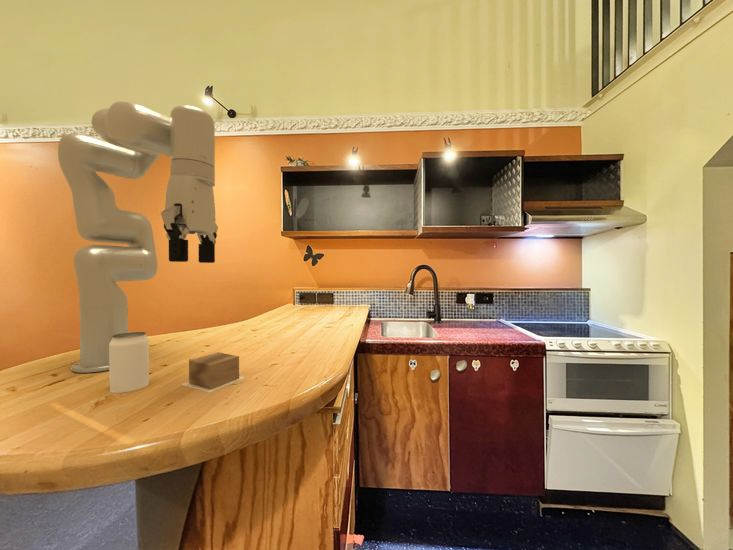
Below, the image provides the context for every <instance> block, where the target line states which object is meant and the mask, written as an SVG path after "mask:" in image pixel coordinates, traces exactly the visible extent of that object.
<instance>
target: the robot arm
mask: <svg viewBox="0 0 733 550" xmlns="http://www.w3.org/2000/svg"><path fill="white" fill-rule="evenodd" d="M91 125H92V126H91V127H92V128H93V130H94V132H95V133H96V134H97V136H99V138H98V137H95V136H91V135H87V134H81V133H74V132H73V133H66V134H63V135H62V136H61V138H60V139H59V141H58V146H57V158H58V163H59V166H60V169H61V172H62V174H63V176H64V178H65V179H66V181H67V184H68V186H69V188H70V190H71V191H70V192H71V195H72V201H73V202H72V203H73V208H74V209H73V210H74V217H75V223H76V228H77V232H78V234H79V235H80V237H81V238H82V239H83V240H86V241H89V242H93V243H94V242H95V243H103V244H104V243H105V244H106V245H105V244H104V245H101V244H93V245H86V246H83V247H80V248H79V249H78V250H76V251H75V252H74V255H73V261H72V262H73V268H74V272H75V277H76V281H77V286H78V287H77V288H78V301H79V302H78V307H79V346H80V347H79V361H78V362H74V363H73V364H72V365H71V371H72V372H74V373H79V374H80V373H81V374H83V373H85V374H87V373H98V372H105V371H109V344H110V342H111V340H112V336H113V335H116V334H120V333H127V332H129V331H128V330H129V322H128V321H129V316H128V315H129V314H128V312H129V311H128V308H129V307H128V306H129V305H128V296H127V294H126V293H125V292H124V290H123V289H122V288H121V287H120V286H119V285H118V284H117V283H118V282H137V281H138V282H139V281H140V282H141V281H142V282H143V281H149V280H152V279H153V278H154V277H155V276H156V275H157V272H158V257H157V250H156V246H155V244H156V243H155V240H154V233H153V227H152V224H151V222H150V220H149V219H148V217H147V216H145V215H144V214H143V213H140V212H137V211H130V210H126V209H124V210H123V209H119V207H117V204H116V197H115V196H116V195H115V193H114V191H113V189H112V188H111V187H110V185H109V184H108V183H107V181H105V180H104V178H102V177H101V176H100V175H99V174H98V173H97V172H99V173H103V174H107V175H111V176H115V177H120V178H124V179H129V180H138V179H141V178H143V177H144V176H145V175H146V174H147V172H149V170H150V169H151V167H152V166H153V165H154V164H155V163H156V161H157V160H158V159H159V158H160V156H161V155H163V156H166V157H169V158H170V176H169V177H168V180H167V185H166V192H165V201H164V202H165V203H164V206H165V207H164V210H162V211H161V212H160V216H161V218H162V221H163V228H164V230H165V232H166V234H165V235H166V237H165V238H167V240H168V261H169V262H171V263H172V262H174V263H175V262H176V263H177V262H178V263H183V262H184V263H187V262H188V261H189V239H186V238H187V237H188V234H189V235H195V234H196V235H197V238H198V240H199V242H200V243H198V263H199V264H201V263H204V264H207V263H208V264H214V263H215V261H216V260H215V259H216V257H215V256H216V249H215V248H216V246H215V245H216V243H217V240H216V239H217V235H218V234H217V232H218V228H219V227H218V225H217V224H216V206H215V205H216V203H215V193H214V188H213V187H215V186H216V174H215V173H216V170H215V169H216V168H215V163H216V161H215V159H216V158H215V157H216V156H215V155H216V154H215V153H216V152H215V147H216V145H215V143H216V142H215V129H216V128H215V121H214V118H213V117H212V116H211V114H210V113H208V112H207V111H205V110H204V109H201V108H199V107H197V106H192V105H187V104H186V105H185V104H184V105H182V104H181V105H176V106H175V107H173V108H172V109H171V111H170V115H169V116H167V115H165V114H162V113H160V112H158V111H156V110H153V109H151V108H148V107H146V106H143V105H141V104H137V103H134V102H129V101H121V100H120V101H119V100H118V101H115V102H113V103H112V104H111V105H110V107H107V108H101V109H99V110H97V111H96V112H95V113H93V115H92V117H91ZM107 244H119V245H120V244H121V245H127V246H121V245H120V246H119V245H107ZM116 282H117V283H116Z"/></svg>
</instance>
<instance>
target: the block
mask: <svg viewBox="0 0 733 550" xmlns="http://www.w3.org/2000/svg"><path fill="white" fill-rule="evenodd" d="M239 376H240V356H238V355H234V354H230V353H223V352H215V353H211V354H208V355H203V356H200V357H196V358H193V359H189V360H188V382H189V384H192V385H196V386H199V387H203V388H207V389H210V390H211V389H214V388H216V387H219V386H221V385H224V384H226V383H229V382H231V381H234V380H236V379H239Z"/></svg>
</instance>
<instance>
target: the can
mask: <svg viewBox="0 0 733 550" xmlns="http://www.w3.org/2000/svg"><path fill="white" fill-rule="evenodd" d="M149 349H150V343H149V338H148V336H147V332H145V331H128V332H127V333H120V334H116V335H113V336H112V340H111V342H110V344H109V370H108V371H109V372H108V373H109V374H108V375H109V378H108V379H109V392H110V393H113V394H123V393H129V392H134V391H138V390H141V389H143V388H145V387H147V386H149V385H150V350H149Z"/></svg>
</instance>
